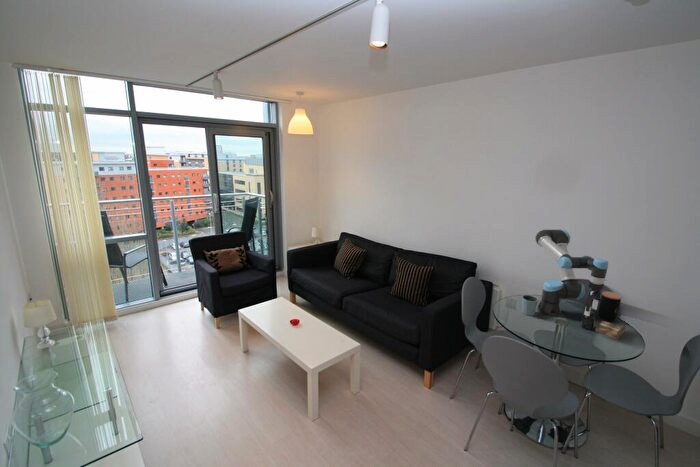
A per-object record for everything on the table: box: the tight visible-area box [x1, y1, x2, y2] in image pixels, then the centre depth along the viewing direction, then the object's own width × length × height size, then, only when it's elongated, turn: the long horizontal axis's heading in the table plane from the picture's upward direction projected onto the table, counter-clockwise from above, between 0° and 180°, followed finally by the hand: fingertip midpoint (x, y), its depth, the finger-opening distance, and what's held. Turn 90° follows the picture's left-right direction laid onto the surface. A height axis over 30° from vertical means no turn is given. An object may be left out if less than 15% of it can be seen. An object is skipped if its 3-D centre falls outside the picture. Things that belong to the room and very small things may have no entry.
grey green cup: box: [521, 294, 539, 317], centre depth 233 cm, size 10×10×12 cm
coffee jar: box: [597, 290, 622, 322], centre depth 225 cm, size 11×11×18 cm
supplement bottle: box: [580, 309, 596, 331], centre depth 214 cm, size 7×7×12 cm
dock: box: [595, 320, 626, 341], centre depth 210 cm, size 12×13×5 cm
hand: (590, 312), depth 212 cm, fingers open, 13 cm apart
